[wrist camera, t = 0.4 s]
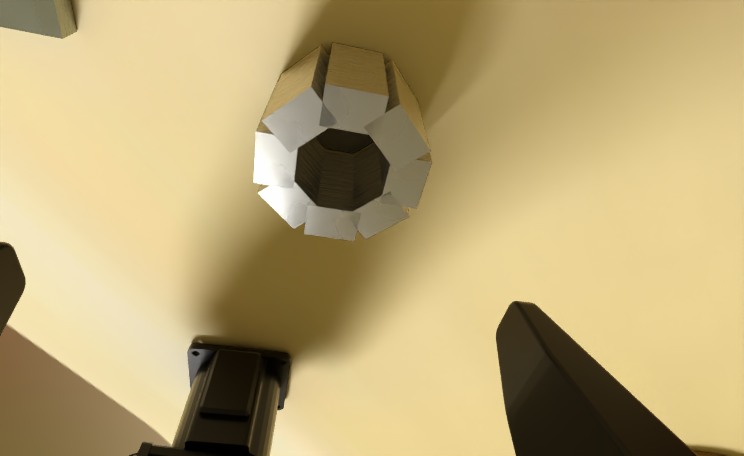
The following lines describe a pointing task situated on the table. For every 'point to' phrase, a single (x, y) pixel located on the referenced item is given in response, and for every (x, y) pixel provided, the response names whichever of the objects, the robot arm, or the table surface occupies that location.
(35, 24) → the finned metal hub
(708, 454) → the wooden plate with food
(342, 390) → the table surface
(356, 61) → the hub ring
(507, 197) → the table surface
